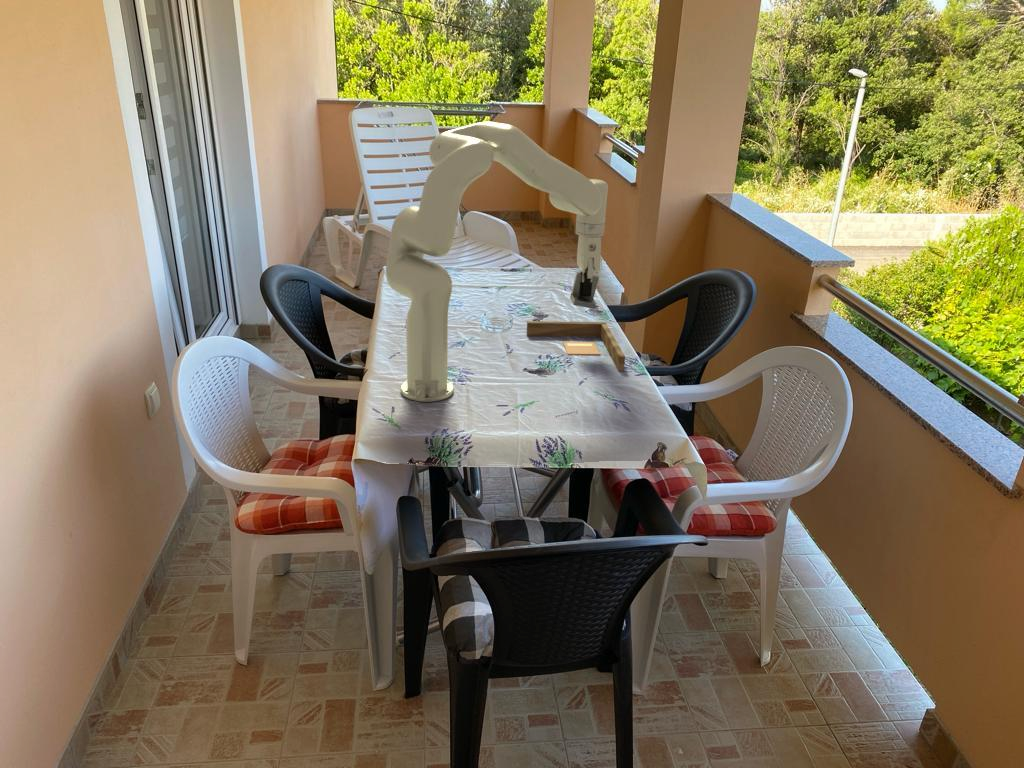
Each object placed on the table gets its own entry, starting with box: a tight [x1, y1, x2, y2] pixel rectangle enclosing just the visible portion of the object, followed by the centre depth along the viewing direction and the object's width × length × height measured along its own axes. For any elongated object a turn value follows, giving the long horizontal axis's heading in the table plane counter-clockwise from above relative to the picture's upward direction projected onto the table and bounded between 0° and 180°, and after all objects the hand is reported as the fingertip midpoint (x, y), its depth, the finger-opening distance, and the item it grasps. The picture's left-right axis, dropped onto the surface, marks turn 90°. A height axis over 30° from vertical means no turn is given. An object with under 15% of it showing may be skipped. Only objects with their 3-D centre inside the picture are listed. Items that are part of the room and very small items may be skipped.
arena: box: [526, 320, 626, 372], centre depth 204 cm, size 26×23×4 cm
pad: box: [562, 341, 601, 356], centre depth 207 cm, size 9×9×1 cm
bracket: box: [569, 271, 600, 310], centre depth 200 cm, size 6×6×8 cm
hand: (584, 294), depth 203 cm, fingers closed on bracket, 1 cm apart
